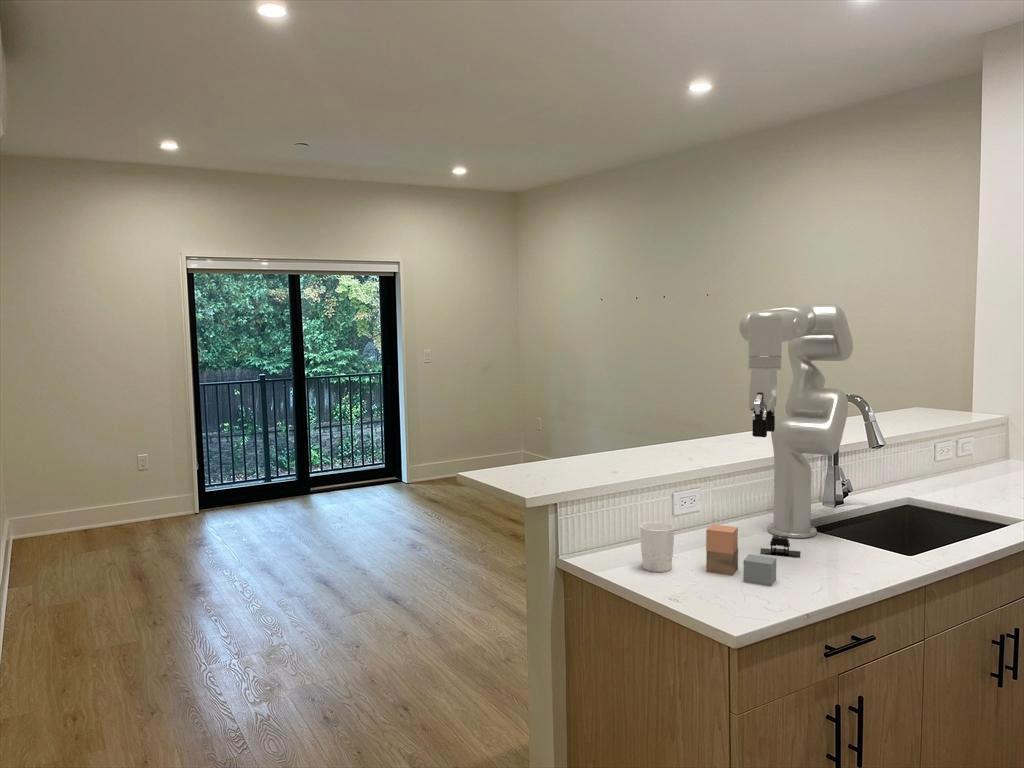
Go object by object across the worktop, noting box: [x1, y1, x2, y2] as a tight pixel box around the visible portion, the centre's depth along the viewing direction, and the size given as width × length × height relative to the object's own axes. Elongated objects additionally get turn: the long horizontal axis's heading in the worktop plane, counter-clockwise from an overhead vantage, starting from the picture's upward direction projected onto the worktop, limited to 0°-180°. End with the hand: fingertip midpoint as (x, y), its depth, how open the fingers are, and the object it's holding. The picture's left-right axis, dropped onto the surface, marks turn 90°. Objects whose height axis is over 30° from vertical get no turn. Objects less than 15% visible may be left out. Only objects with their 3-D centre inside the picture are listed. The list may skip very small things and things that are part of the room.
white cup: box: [639, 521, 675, 573], centre depth 174 cm, size 8×8×10 cm
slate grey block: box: [742, 553, 777, 587], centre depth 164 cm, size 5×6×5 cm
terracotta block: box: [705, 523, 739, 554], centre depth 171 cm, size 5×6×5 cm
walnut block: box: [705, 548, 739, 577], centre depth 171 cm, size 5×6×5 cm
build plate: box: [759, 534, 801, 559], centre depth 184 cm, size 12×7×5 cm, turn 69°
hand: (763, 433), depth 179 cm, fingers open, 9 cm apart
